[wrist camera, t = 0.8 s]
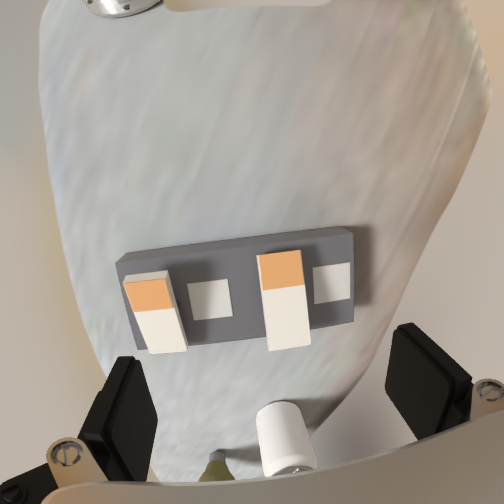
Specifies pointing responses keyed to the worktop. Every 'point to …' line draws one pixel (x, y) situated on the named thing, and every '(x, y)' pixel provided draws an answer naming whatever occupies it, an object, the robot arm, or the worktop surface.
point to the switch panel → (246, 282)
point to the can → (284, 440)
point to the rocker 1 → (156, 311)
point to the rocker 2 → (284, 299)
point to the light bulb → (216, 469)
